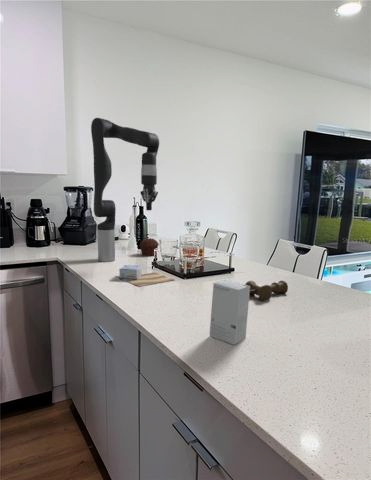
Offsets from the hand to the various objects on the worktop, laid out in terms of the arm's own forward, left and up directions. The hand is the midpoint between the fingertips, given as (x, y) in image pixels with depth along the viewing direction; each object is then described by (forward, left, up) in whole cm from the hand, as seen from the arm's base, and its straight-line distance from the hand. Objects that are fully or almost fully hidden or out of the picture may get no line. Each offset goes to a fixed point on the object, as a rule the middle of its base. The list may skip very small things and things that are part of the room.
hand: (148, 210), depth 164 cm
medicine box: (+9, -14, -27) cm, 32 cm away
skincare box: (+82, -27, -29) cm, 91 cm away
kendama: (+65, +10, -30) cm, 72 cm away
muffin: (-28, +18, -29) cm, 44 cm away
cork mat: (+20, -13, -29) cm, 37 cm away
